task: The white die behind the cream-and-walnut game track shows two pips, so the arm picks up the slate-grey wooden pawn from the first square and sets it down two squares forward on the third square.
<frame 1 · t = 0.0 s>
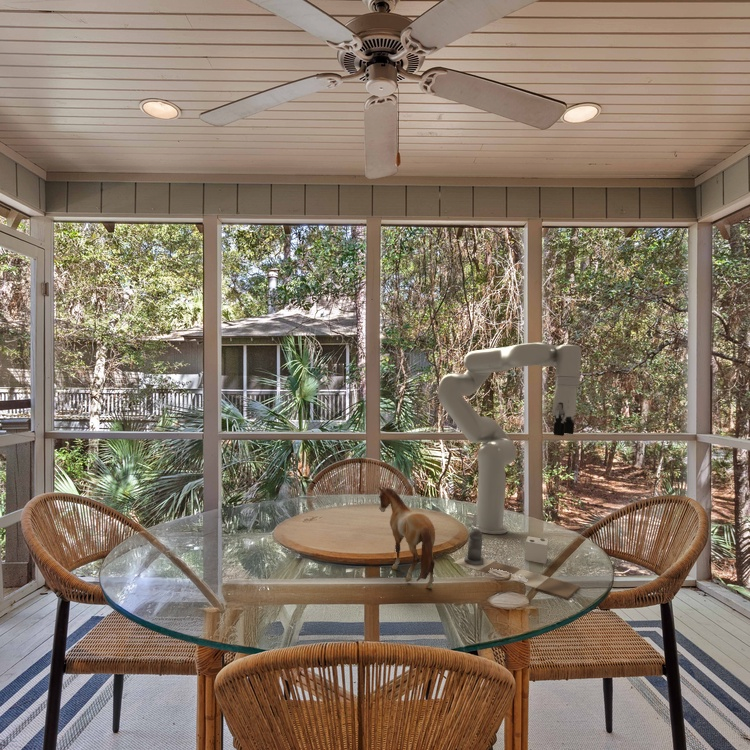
hand: (563, 434, 171), 37 cm above the table, tool pointing down, fingers open, 9 cm apart
die: (535, 560, 156), on the table
pawn: (473, 561, 149), point 1 cm above the table, touching game board
game board: (513, 575, 142), on the table
horse figurine: (397, 577, 136), on the table
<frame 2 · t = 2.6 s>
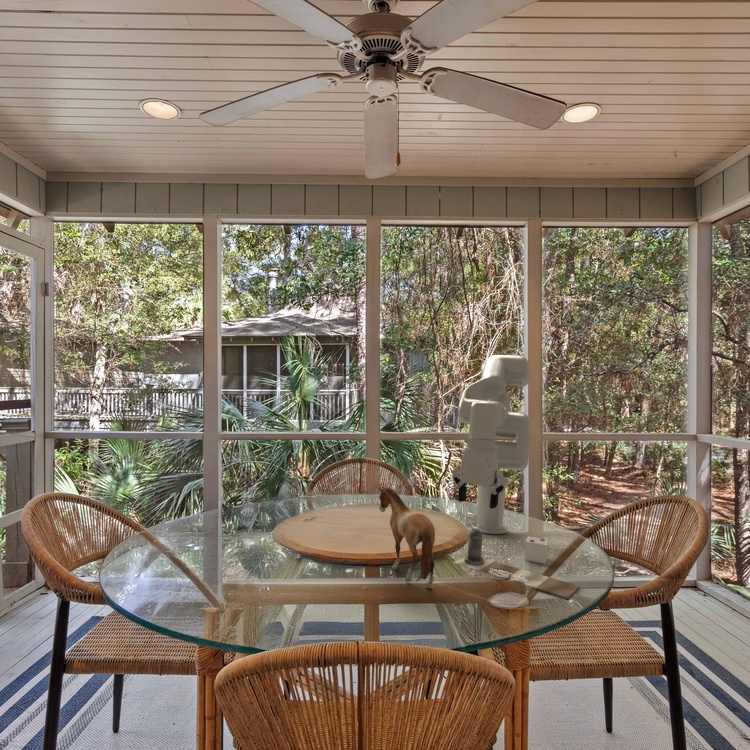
hand: (477, 504, 149), 17 cm above the table, tool pointing down, fingers open, 9 cm apart
nothing on the table moved.
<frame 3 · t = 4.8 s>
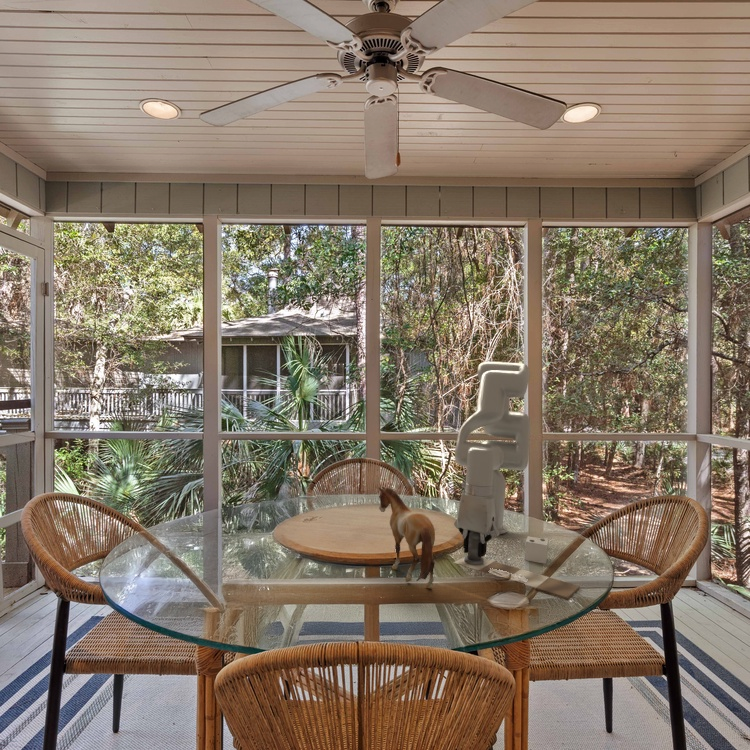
hand: (474, 553, 149), 3 cm above the table, tool pointing down, fingers closed on pawn, 3 cm apart
pawn: (473, 561, 149), point 1 cm above the table, touching game board, gripper
everything else where it was.
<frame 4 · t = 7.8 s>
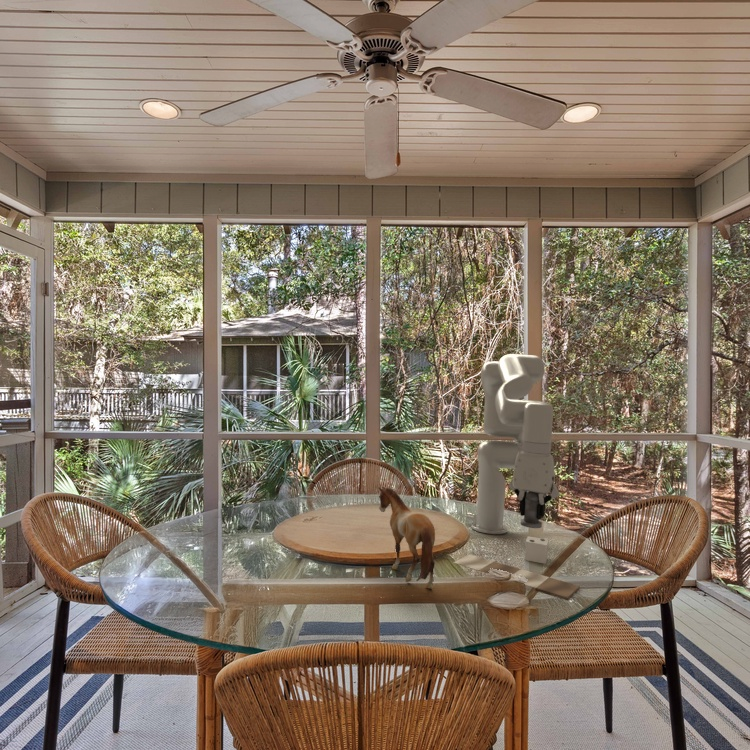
hand: (531, 515, 140), 17 cm above the table, tool pointing down, fingers closed on pawn, 3 cm apart
pawn: (531, 525, 140), point 15 cm above the table, touching gripper
everything else where it was.
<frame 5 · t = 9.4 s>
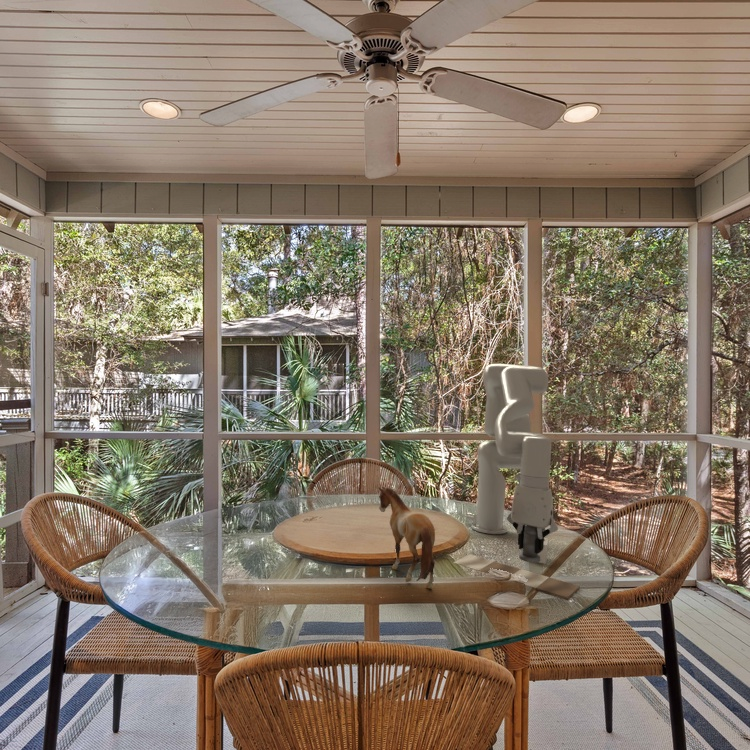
hand: (530, 549, 139), 8 cm above the table, tool pointing down, fingers closed on pawn, 3 cm apart
pawn: (529, 558, 139), point 6 cm above the table, touching gripper
everything else where it was.
when the fingers open (4 cm above the table, at t = 10.9 s): pawn stays where it is, resting on game board.
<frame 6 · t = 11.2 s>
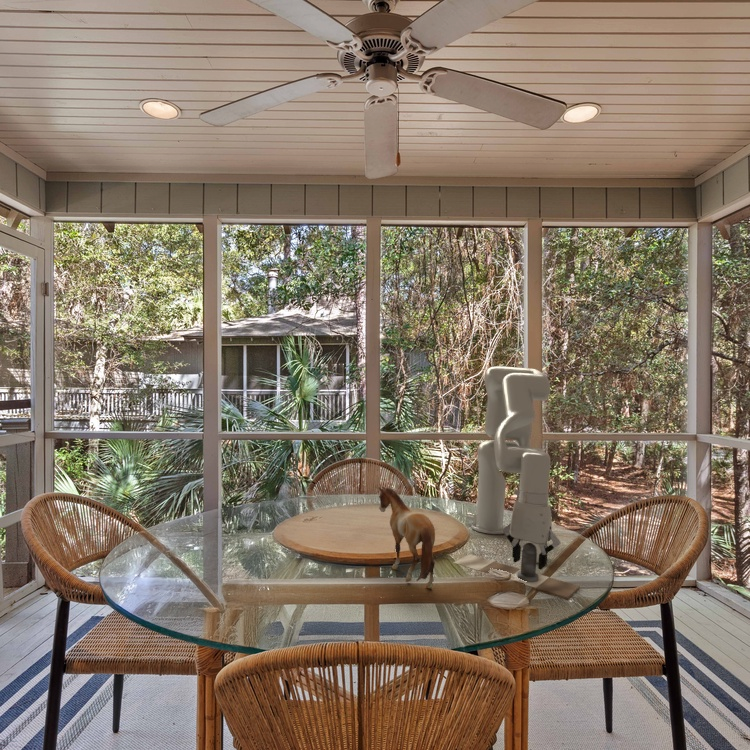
hand: (528, 563, 140), 4 cm above the table, tool pointing down, fingers open, 6 cm apart
pawn: (527, 577, 140), point 1 cm above the table, touching game board
everything else where it was.
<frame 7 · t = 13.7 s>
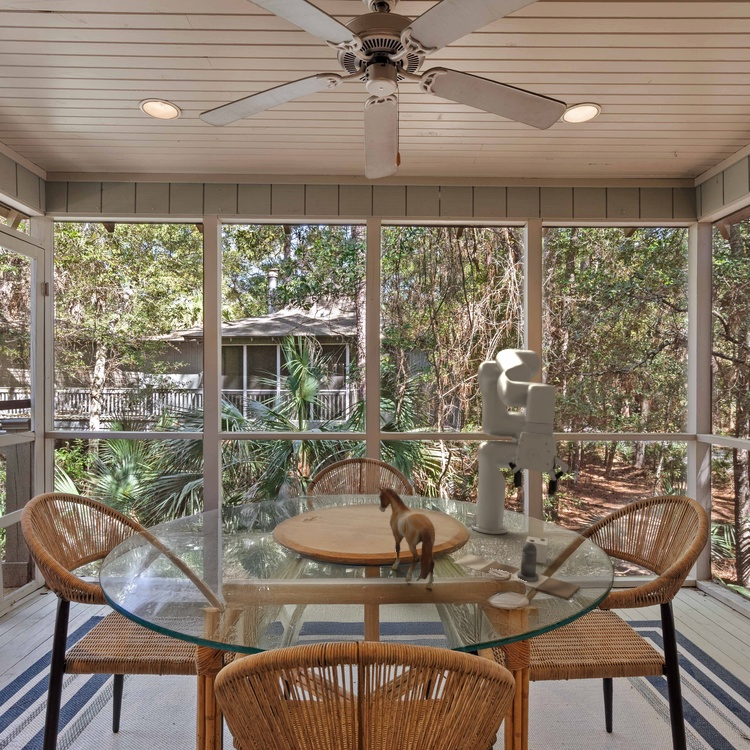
hand: (534, 490, 144), 23 cm above the table, tool pointing down, fingers open, 9 cm apart
nothing on the table moved.
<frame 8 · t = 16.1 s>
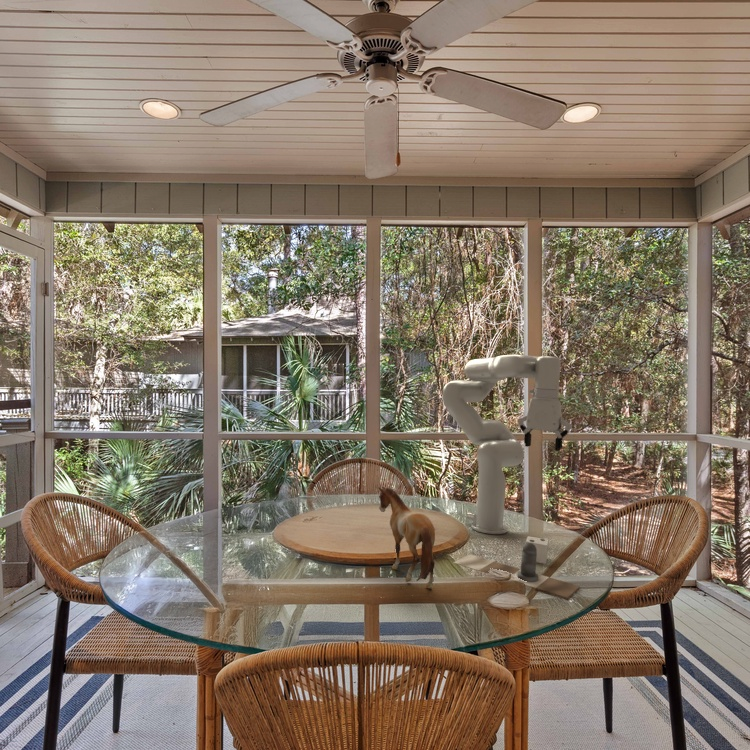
hand: (542, 448, 167), 32 cm above the table, tool pointing down, fingers open, 9 cm apart
nothing on the table moved.
at the end: pawn 0.1 cm from the target spot on the game board, point 0.6 cm above the game board's base; pawn tilted 0°; the gripper is holding nothing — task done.
